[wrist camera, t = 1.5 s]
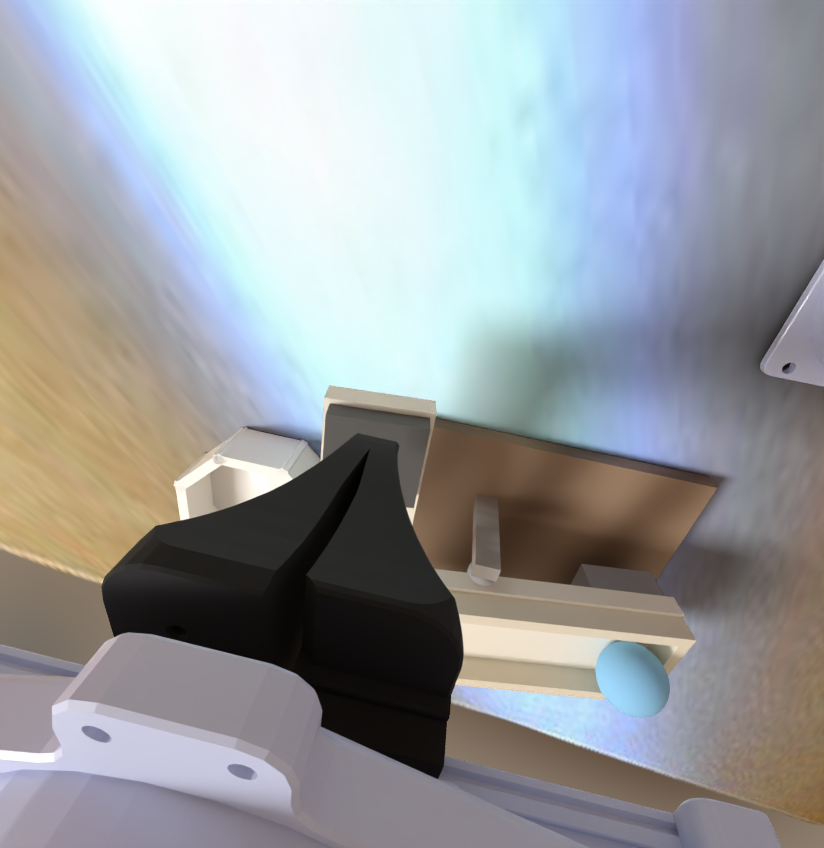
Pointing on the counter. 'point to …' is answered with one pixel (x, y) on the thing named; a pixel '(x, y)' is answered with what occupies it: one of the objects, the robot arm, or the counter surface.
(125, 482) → the counter surface
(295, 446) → the cup
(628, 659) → the ball
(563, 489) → the lever stand
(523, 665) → the tipping lever
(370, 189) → the counter surface
